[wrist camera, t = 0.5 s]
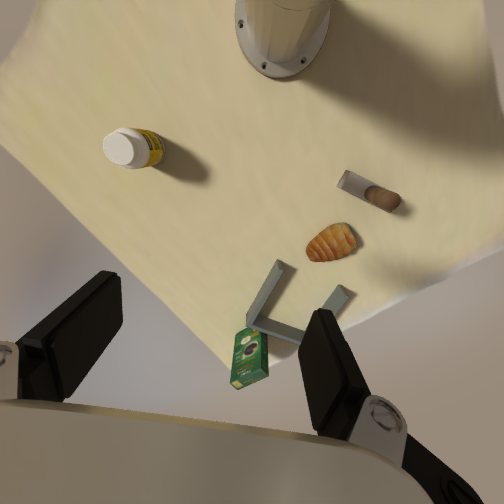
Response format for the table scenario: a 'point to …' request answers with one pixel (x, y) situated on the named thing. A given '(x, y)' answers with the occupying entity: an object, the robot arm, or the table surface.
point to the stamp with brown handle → (369, 191)
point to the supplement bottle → (134, 148)
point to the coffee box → (249, 358)
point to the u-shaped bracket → (276, 327)
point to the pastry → (331, 243)
